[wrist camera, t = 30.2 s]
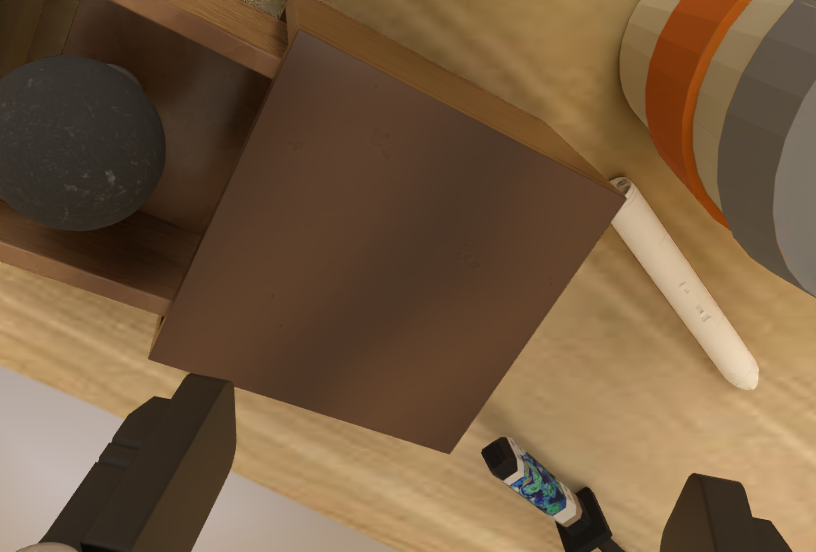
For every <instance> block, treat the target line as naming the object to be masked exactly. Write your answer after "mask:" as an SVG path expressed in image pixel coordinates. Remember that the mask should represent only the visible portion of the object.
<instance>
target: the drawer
mask: <svg viewBox="0 0 816 552" xmlns="http://www.w3.org/2000/svg"><path fill="white" fill-rule="evenodd" d="M44 1H45V0H0V80H1V79H2V78H3V77H4V76H5V75H6V74H8V73H10V72H11V71H13V70H14V69H16V68H18V67H19V66H21V65H24V64H25V61H26V58H27V55H28V52H29V49H30V45H31V42H32V39H33V36H34V33H35V30H36V26H37V23H38V20H39V17H40V14H41V11H42V8H43V4H44ZM288 45H289V44H288V32H287V23H285V22H283V21H281V20H279V19H277V18H275V17H273V16H271V15H269V14H267V13H265V12H264V11H262V10H260V9H258V8H256V7H254V6H252V5H250V4H248V3H246V2H244V1H242V0H79V3H78V6H77V9H76V12H75V15H74V18H73V21H72V24H71V27H70V30H69V33H68V36H67V39H66V42H65V45H64V48H63V51H62V54H61V55H68V56H81V57H85V58H90V59H93V60H96V61H100V62H103V63H105V64H113V65H118V66H121V67H123V68H125V69H127V70H128V71H130V72H131V73H132V74H133V75H134V76H135V77H136V78H137V79H138V81H139V83H140V84H141V86H142V90H143V91H144V93H145V94H146V95H147V96H148V98H149V99H150V100H151V101H152V103H153V104H154V106H155V108H156V110H157V112H158V114H159V116H160V119H161V122H162V125H163V129H164V133H165V140H166V158H165V165H164V169H163V173H162V176H161V179H160V180H159V182H158V184H157V186H156V188H155V190H154V192H153V193H152V195H151V197H150V198H149V199H148V200H147V201H146V202H145V203H144V204H143V205H142V206H141V207H140V208H139V209H138V210H137V211H136V212H134V213H133V214H132V215H130V216H129V217H127V218H125V219H124V220H122V221H119V222H117V223H115V224H113V225H110V226H107V227H103V228H99V229H94V230H86V231H70V230H61V229H56V228H52V227H49V226H45V225H42V224H40V223H38V222H35V221H33V220H31V219H29V218H27V217H25V216H24V215H22V214H21V213H19V212H18V211H16V210H15V209H13V208H12V207H11V206H10V205H9V204H8V203H7V202H6V201H4V200H3V199H2V198H1V197H0V261H1V262H4V263H7V264H10V265H13V266H16V267H19V268H22V269H25V270H28V271H31V272H34V273H37V274H40V275H43V276H46V277H48V278H51V279H54V280H57V281H60V282H63V283H66V284H69V285H72V286H75V287H78V288H81V289H84V290H87V291H90V292H93V293H96V294H99V295H101V296H104V297H107V298H110V299H113V300H116V301H119V302H122V303H125V304H128V305H131V306H134V307H137V308H140V309H143V310H146V311H149V312H152V313H155V314H157V315H160V316H163V317H165V315H166V313H167V311H168V308H169V306H170V304H171V302H172V300H173V297H174V295H175V293H176V291H177V289H178V286H179V284H180V282H181V280H182V278H183V275H184V273H185V271H186V269H187V267H188V264H189V262H190V260H191V258H192V256H193V253H194V251H195V249H196V247H197V245H198V242H199V240H200V238H201V236H202V234H203V231H204V229H205V227H206V225H207V223H208V221H209V218H210V216H211V214H212V212H213V210H214V207H215V205H216V203H217V201H218V199H219V196H220V194H221V192H222V190H223V188H224V185H225V183H226V181H227V179H228V177H229V174H230V172H231V170H232V168H233V166H234V163H235V161H236V159H237V157H238V155H239V152H240V150H241V148H242V146H243V144H244V141H245V139H246V137H247V135H248V133H249V130H250V128H251V126H252V124H253V122H254V120H255V117H256V115H257V113H258V111H259V109H260V106H261V104H262V102H263V100H264V98H265V95H266V93H267V91H268V89H269V87H270V84H271V82H272V80H273V78H274V76H275V73H276V71H277V69H278V67H279V65H280V62H281V60H282V58H283V56H284V54H285V51H286V49H287V47H288Z"/></svg>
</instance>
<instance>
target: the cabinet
mask: <svg viewBox="0 0 816 552" xmlns="http://www.w3.org/2000/svg"><path fill="white" fill-rule="evenodd" d="M278 19H279V20H281V21H283V22H285V23H287V32H288V44H289V45H288V47H287V49H286V51H285V54H284V56H283V58H282V60H281V62H280V65H279V67H278V69H277V71H276V73H275V76H274V78H273V80H272V82H271V84H270V87H269V89H268V91H267V93H266V95H265V98H264V100H263V102H262V104H261V106H260V109H259V111H258V113H257V115H256V117H255V120H254V122H253V124H252V126H251V128H250V130H249V133H248V135H247V137H246V139H245V141H244V144H243V146H242V148H241V150H240V152H239V155H238V157H237V159H236V161H235V163H234V166H233V168H232V170H231V172H230V174H229V177H228V179H227V181H226V183H225V185H224V188H223V190H222V192H221V194H220V196H219V199H218V201H217V203H216V205H215V207H214V210H213V212H212V214H211V216H210V218H209V221H208V223H207V225H206V227H205V229H204V231H203V234H202V236H201V238H200V240H199V242H198V245H197V247H196V249H195V251H194V253H193V256H192V258H191V260H190V262H189V264H188V267H187V269H186V271H185V273H184V275H183V278H182V280H181V282H180V284H179V286H178V289H177V291H176V293H175V295H174V297H173V300H172V302H171V304H170V306H169V308H168V311H167V313H166V315H165V317H163V316H160V315H159V318H158V321H157V325H156V329H155V333H154V337H153V341H152V345H151V348H150V352H149V356H148V359H149V360H152V361H155V362H158V363H162V364H165V365H168V366H171V367H174V368H177V369H181V370H184V371H187V372H190V373H194V374H199V375H204V376H209V377H214V378H219V379H224V380H230V381H232V382H233V385H234V387H238V388H241V389H244V390H247V391H250V392H253V393H257V394H260V395H263V396H266V397H269V398H272V399H276V400H279V401H282V402H285V403H288V404H291V405H295V406H298V407H301V408H304V409H307V410H310V411H314V412H317V413H320V414H323V415H326V416H329V417H333V418H336V419H339V420H342V421H345V422H348V423H352V424H355V425H358V426H361V427H364V428H367V429H371V430H374V431H377V432H380V433H383V434H386V435H390V436H393V437H396V438H399V439H402V440H405V441H409V442H412V443H415V444H418V445H421V446H424V447H428V448H431V449H434V450H437V451H440V452H443V453H447V454H450V453H451V452H452V450H453V449H454V447H455V446H456V445H457V443H458V442H459V440H460V439H461V437H462V436H463V435H464V433H465V432H466V430H467V429H468V427H469V426H470V424H471V423H472V422H473V420H474V419H475V417H476V416H477V414H478V413H479V412H480V410H481V409H482V407H483V406H484V404H485V403H486V401H487V400H488V399H489V397H490V396H491V394H492V393H493V391H494V390H495V388H496V387H497V386H498V384H499V383H500V381H501V380H502V378H503V377H504V376H505V374H506V373H507V371H508V370H509V368H510V367H511V365H512V364H513V363H514V361H515V360H516V358H517V357H518V355H519V354H520V353H521V351H522V350H523V348H524V347H525V345H526V344H527V342H528V341H529V340H530V338H531V337H532V335H533V334H534V332H535V331H536V329H537V328H538V327H539V325H540V324H541V322H542V321H543V319H544V318H545V317H546V315H547V314H548V312H549V311H550V309H551V308H552V306H553V305H554V304H555V302H556V301H557V299H558V298H559V296H560V295H561V294H562V292H563V291H564V289H565V288H566V286H567V285H568V283H569V282H570V281H571V279H572V278H573V276H574V275H575V273H576V272H577V271H578V269H579V268H580V266H581V265H582V263H583V262H584V260H585V259H586V258H587V256H588V255H589V253H590V252H591V250H592V249H593V247H594V246H595V245H596V243H597V242H598V240H599V239H600V237H601V236H602V235H603V233H604V232H605V230H606V229H607V227H608V226H609V224H610V223H611V222H612V220H613V219H614V217H615V216H616V214H617V213H618V212H619V210H620V209H621V207H622V206H623V204H624V203H625V201H626V200H627V198H626V197H625V196H624V195H623V194H622V193H621V192H620V191H619V190H617V189H616V188H615V187H614V186H613V185H612V184H611V183H610V182H609V181H608V180H607V179H606V178H604V177H603V176H602V175H601V174H600V173H599V172H598V171H597V170H596V169H595V168H594V167H593V166H591V165H590V164H589V163H588V162H587V161H586V160H585V159H584V158H583V157H582V156H581V155H580V154H579V153H577V152H576V151H575V150H574V149H573V148H572V147H571V146H570V145H569V144H568V143H567V142H566V141H564V140H563V139H562V138H561V137H560V136H559V135H558V134H557V133H556V132H555V131H554V130H553V129H551V127H550V126H548V125H547V124H546V123H545V122H543V121H541V120H539V119H537V118H536V117H534V116H532V115H530V114H528V113H526V112H524V111H523V110H521V109H519V108H517V107H515V106H513V105H511V104H510V103H508V102H506V101H504V100H502V99H500V98H498V97H497V96H495V95H493V94H491V93H489V92H487V91H485V90H484V89H482V88H480V87H478V86H476V85H474V84H472V83H470V82H469V81H467V80H465V79H463V78H461V77H459V76H457V75H456V74H454V73H452V72H450V71H448V70H446V69H444V68H443V67H441V66H439V65H437V64H435V63H433V62H431V61H430V60H428V59H426V58H424V57H422V56H420V55H418V54H417V53H415V52H413V51H411V50H409V49H407V48H405V47H404V46H402V45H400V44H398V43H396V42H394V41H392V40H391V39H389V38H387V37H385V36H383V35H381V34H379V33H378V32H376V31H374V30H372V29H370V28H368V27H366V26H365V25H363V24H361V23H359V22H357V21H355V20H353V19H352V18H350V17H348V16H346V15H344V14H342V13H340V12H339V11H337V10H335V9H333V8H331V7H329V6H327V5H326V4H324V3H322V2H320V1H318V0H286V1H285V4H284V6H283V8H282V10H281V13H280V15H279V17H278Z"/></svg>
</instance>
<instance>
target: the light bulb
mask: <svg viewBox="0 0 816 552" xmlns="http://www.w3.org/2000/svg"><path fill="white" fill-rule="evenodd" d="M165 158H166V140H165V133H164V129H163V125H162V122H161V119H160V116H159V114H158V112H157V110H156V108H155V106H154V104H153V103H152V101H151V100H150V99H149V98H148V96H147V95H146V94H145V93H144V91H143V90H142V86H141V84H140V83H139V81H138V79H137V78H136V77H135V76H134V75H133V74H132V73H131V72H130V71H128V70H127V69H125V68H123V67H121V66H118V65H113V64H105V63H103V62H100V61H96V60H93V59H90V58H85V57H81V56H68V55H60V56H52V57H45V58H42V59H38V60H35V61H32V62H29V63H27V64H24V65H21V66H19V67H18V68H16V69H14V70H13V71H11V72H10V73H8V74H6V75H5V76H4V77H3V78H2V79H1V80H0V197H1V198H2V199H3V200H4V201H6V202H7V203H8V204H9V205H10V206H11V207H12V208H13V209H15V210H16V211H18V212H19V213H21V214H22V215H24V216H25V217H27V218H29V219H31V220H33V221H35V222H38V223H40V224H42V225H45V226H49V227H52V228H56V229H61V230H70V231H86V230H94V229H99V228H103V227H107V226H110V225H113V224H115V223H117V222H119V221H122V220H124V219H125V218H127V217H129V216H130V215H132V214H133V213H134V212H136V211H137V210H138V209H139V208H140V207H141V206H142V205H143V204H144V203H145V202H146V201H147V200H148V199H149V198H150V197H151V195H152V193H153V192H154V190H155V188H156V186H157V184H158V182H159V180H160V179H161V176H162V173H163V169H164V165H165Z"/></svg>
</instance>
